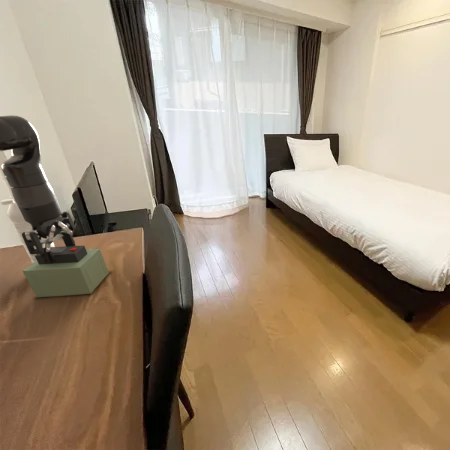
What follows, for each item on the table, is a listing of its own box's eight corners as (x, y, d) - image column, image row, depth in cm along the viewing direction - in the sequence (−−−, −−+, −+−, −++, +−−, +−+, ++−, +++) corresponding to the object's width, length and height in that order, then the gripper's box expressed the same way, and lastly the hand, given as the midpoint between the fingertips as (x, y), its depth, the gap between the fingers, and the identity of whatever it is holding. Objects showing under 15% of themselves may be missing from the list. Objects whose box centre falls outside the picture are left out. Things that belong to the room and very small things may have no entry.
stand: (36, 297, 75) (22, 271, 71) (60, 275, 84) (49, 251, 80) (90, 293, 77) (79, 267, 73) (108, 272, 86) (99, 248, 82)
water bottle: (42, 264, 90) (6, 192, 79) (65, 260, 92) (34, 190, 81) (29, 279, 82) (-12, 203, 71) (56, 275, 85) (19, 200, 74)
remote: (38, 264, 74) (33, 254, 73) (50, 255, 78) (45, 246, 77) (78, 262, 75) (74, 252, 74) (87, 253, 79) (84, 244, 78)
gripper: (41, 191, 75) (63, 242, 82) (-4, 212, 62) (27, 270, 69) (71, 191, 76) (90, 241, 83) (32, 211, 63) (59, 268, 70)
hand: (61, 254), depth 76 cm, fingers open, 8 cm apart
